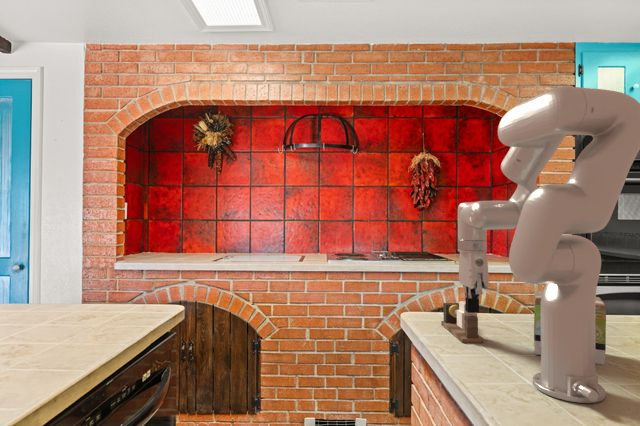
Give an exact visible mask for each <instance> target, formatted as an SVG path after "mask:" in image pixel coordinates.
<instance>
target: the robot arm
mask: <svg viewBox="0 0 640 426" xmlns="http://www.w3.org/2000/svg"><path fill="white" fill-rule="evenodd" d="M567 135H576V136H578V135H579V136H582V135H583V136H591V137H592V138H593V139H592V140H591V141H590V143H588V144H587V145H586V146H585V147H584V148H583V150H582V151H581V152H580V153H579V155H578V157H577V158H576V160H575V161H574V164H573V168H572V171H571V173H570V176H569V178H568V180H567V182H566V183H563V184H562V183H553V184H552V183H550V184H545V185H541V186H539V187H538V184H537V179H538V177H540V175H541V173H542V171H543V170H544V169H545V168H546V166H547V164H548V163H549V161H550V160H551V159H552V157H553V155H554V154H555V153H556V151H557V150H558V148H559V147H560V145H561V144H562V143H563V142H564V140H565V138H566V137H567ZM497 137H498V140H499V142H501V144H503V145H504V146H506V147H509V150H508V151H507V153H506V155H505V156H504V157H503V159H502V160H501V161H502V162H501V164H500V170H501V172H502V174H503V175H504V176H505V177H506V178H508V179H509V180H510V181H511V182H513V183H515V184H517V187H516V188H515V191H514V193H513V194H512V195H511V197H510V198H509V199H508V200H479V201H471V202H470V201H468V202H467V201H465V202H461V203H459V205H458V207H457V252H459V259H458V260H459V261H458V281H459V283H460V284H461V285H462V287H463V289H464V299H465V300H464V301H465V310H466V311H467V312H468V313H477V314H478V313H479V312H480V298H481V297H480V295H483V289H484V290H487V289H489V287H490V282H489V281H490V278H489V263H488V257H487V256H488V255H487V247H488V245H487V238H488V237H487V236H488V235H487V234H488V233H487V231H489V230H513V229H515V231H514V234H513V238H512V241H511V245H510V248H509V254H508V263H509V268H510V270H511V273H512V275H513V276H514V277H515V278H516V279H517V280H519V281H520V282H523V283H526V284H533V285H534V284H535V285H538V284H539V285H541V284H545V286H544V288H543V290H542V292H543V293H542V297H541V355H540V372H538V373H535V374H534V375H533V376H532V385H533V387H535V388H536V389H537V390H538V391H540V392H541V393H544V394H545V395H548V396H550V397H552V398H555V399H560V400H563V401H567V402H572V403H579V404H593V403H599V402H602V401H603V400H605V398H606V390H605V388H604V387H603V386H602V385H600V384H599V377H598V376H597V375H596V372H597V371H596V365H597V364H596V355H595V305H596V297H597V290H598V289H597V288H598V283H599V278H600V274H601V269H602V256H601V253H600V252H601V251H599V248H598V247H597V246H596V244H595V243H594V242H592V241H591V240H590V239H588V238H586V237H584V236H580V235H581V234H592V233H597V232H599V231H601V230H603V229H605V227H606V226H607V225H608V224H609V222H610V220H611V218H612V215H613V213H614V210H615V208H616V205H617V203H618V200H619V198H620V196H621V193H622V190H623V187H624V185H625V183H626V179H627V176H628V174H629V172H630V169H631V166H633V163H634V161H635V160H636V157H637V155H638V153H639V151H640V102H639V101H638V100H637V99H635V98H634V97H633V96H631V95H628V94H627V93H623V92H622V91H621V92H620V91H616V90H611V89H610V90H609V89H603V88H589V87H579V86H578V87H577V86H558V87H554V88H551V89H549V90H546V91H544V92H542V93H540V94H538V95H536V96H533V97H531V98H529V99H527V100H524V101H523V102H521V103H518V104H517V105H515V106H513V107H512V108H510V109H509V110H508V111H506V112H505V114H504V115H503V116H502V117H501V119H500V121H499V124H498V126H497ZM576 234H579V235H576Z"/></svg>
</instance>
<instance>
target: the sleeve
mask: <svg viewBox="0 0 640 426" xmlns="http://www.w3.org/2000/svg"><path fill="white" fill-rule="evenodd" d="M458 304H459V310H457V325H458V326H459V327H460V328H462V329H465V316H476V317H478V313H468V312H467V311H466V310H465V300H461V301H458Z"/></svg>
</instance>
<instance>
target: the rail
mask: <svg viewBox="0 0 640 426" xmlns="http://www.w3.org/2000/svg"><path fill="white" fill-rule="evenodd" d="M442 305H443V306H442V307H443V320H441V327H443V328H444V329H446V330H447V331H448V332H449V333H450V334H451V335H452V336H453V337H454V338H456V339H457V340H458V341H459V342H461V344H475V343H476V344H482V343H483V344H484V343H485V341H484V340H485V339H484V337H482V336H481V335H480V334H479V317H478V316H477V317H476V316H465V329H462V328H460V327H459V326H458V325H457V310H459V302H443V304H442Z"/></svg>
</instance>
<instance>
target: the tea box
mask: <svg viewBox="0 0 640 426" xmlns="http://www.w3.org/2000/svg"><path fill="white" fill-rule="evenodd" d="M542 293H543V291H534V313H533V316H534V317H533V319H534V320H533V345H534V355H538V356H541V297H542ZM606 330H607V305H606V304H605V303H604V301H603V300H602V298H600V297H599V296H596V305H595V355H596V365H600V364H601V365H600V366H604V365H606V364H605V363H606V350H607V349H606V348H607V346H606V345H607V343H606V341H607V339H606V338H607V336H606V335H607V334H606V333H607V332H606Z"/></svg>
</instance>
